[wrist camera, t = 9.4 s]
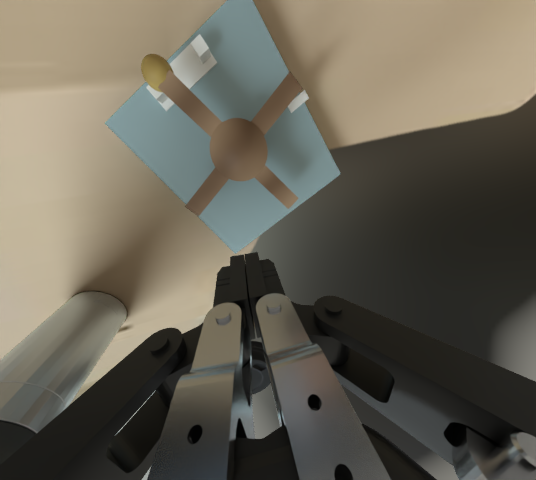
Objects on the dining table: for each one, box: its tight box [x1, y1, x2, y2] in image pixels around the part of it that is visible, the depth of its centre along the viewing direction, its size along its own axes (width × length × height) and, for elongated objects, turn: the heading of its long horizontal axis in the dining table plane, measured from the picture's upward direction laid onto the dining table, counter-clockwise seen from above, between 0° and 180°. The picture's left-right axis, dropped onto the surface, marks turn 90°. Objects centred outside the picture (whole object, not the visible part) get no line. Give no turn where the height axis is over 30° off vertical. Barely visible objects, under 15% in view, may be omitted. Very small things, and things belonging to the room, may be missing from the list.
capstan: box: [141, 54, 302, 216], centre depth 21 cm, size 19×17×5 cm
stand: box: [105, 0, 341, 254], centre depth 25 cm, size 21×22×5 cm
